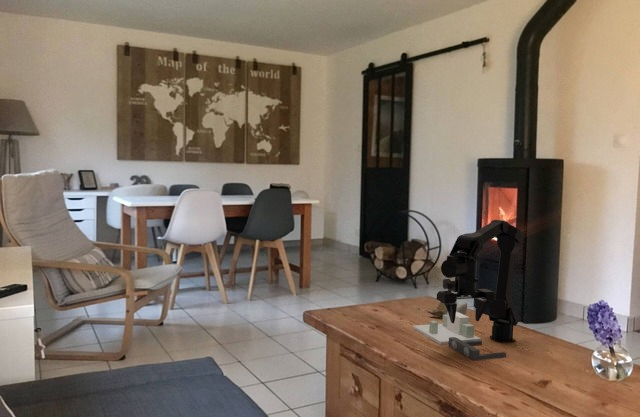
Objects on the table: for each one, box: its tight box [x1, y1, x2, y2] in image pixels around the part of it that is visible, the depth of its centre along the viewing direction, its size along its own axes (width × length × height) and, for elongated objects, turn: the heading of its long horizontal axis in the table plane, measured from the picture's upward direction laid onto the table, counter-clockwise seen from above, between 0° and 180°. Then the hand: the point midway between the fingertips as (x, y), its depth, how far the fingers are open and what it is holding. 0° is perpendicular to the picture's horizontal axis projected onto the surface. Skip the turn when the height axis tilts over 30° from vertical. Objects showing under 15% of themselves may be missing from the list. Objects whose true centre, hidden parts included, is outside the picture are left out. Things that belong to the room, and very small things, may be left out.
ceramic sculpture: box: [427, 301, 468, 318], centre depth 219 cm, size 11×9×15 cm
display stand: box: [412, 312, 482, 346], centre depth 195 cm, size 16×20×7 cm
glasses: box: [448, 337, 507, 361], centre depth 178 cm, size 12×14×3 cm
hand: (464, 322), depth 175 cm, fingers open, 9 cm apart
